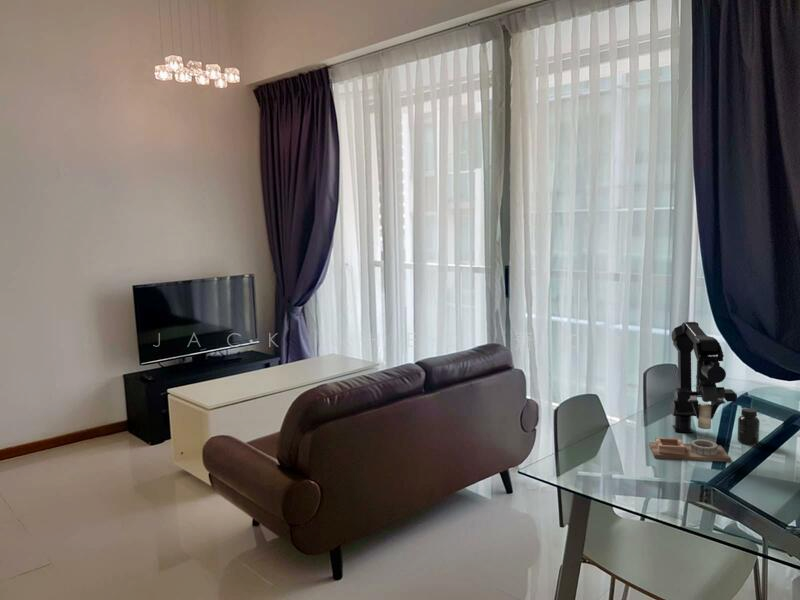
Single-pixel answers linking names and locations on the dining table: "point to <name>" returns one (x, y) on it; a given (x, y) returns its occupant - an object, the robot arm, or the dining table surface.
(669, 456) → the socket board
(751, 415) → the supplement bottle
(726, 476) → the dining table surface
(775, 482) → the dining table surface
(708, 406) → the round peg
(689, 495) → the dining table surface
